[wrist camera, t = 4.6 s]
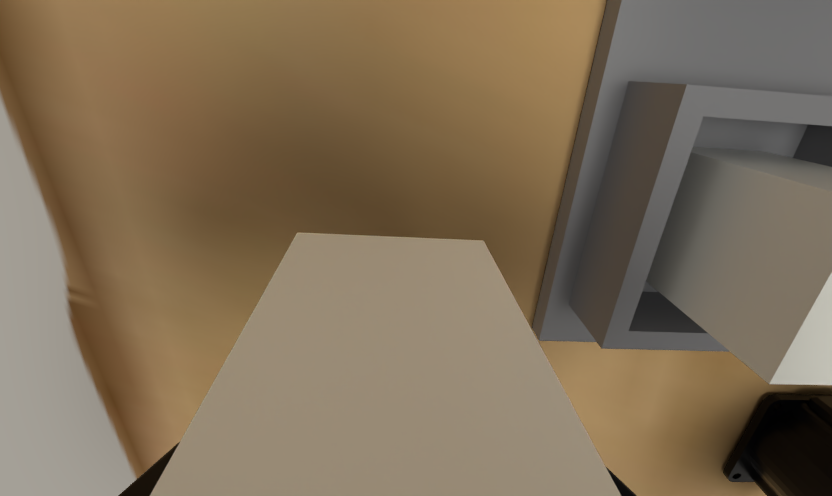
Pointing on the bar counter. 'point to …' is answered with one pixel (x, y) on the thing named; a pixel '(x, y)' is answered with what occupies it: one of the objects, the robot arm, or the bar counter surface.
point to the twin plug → (754, 260)
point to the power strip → (673, 148)
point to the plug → (386, 384)
